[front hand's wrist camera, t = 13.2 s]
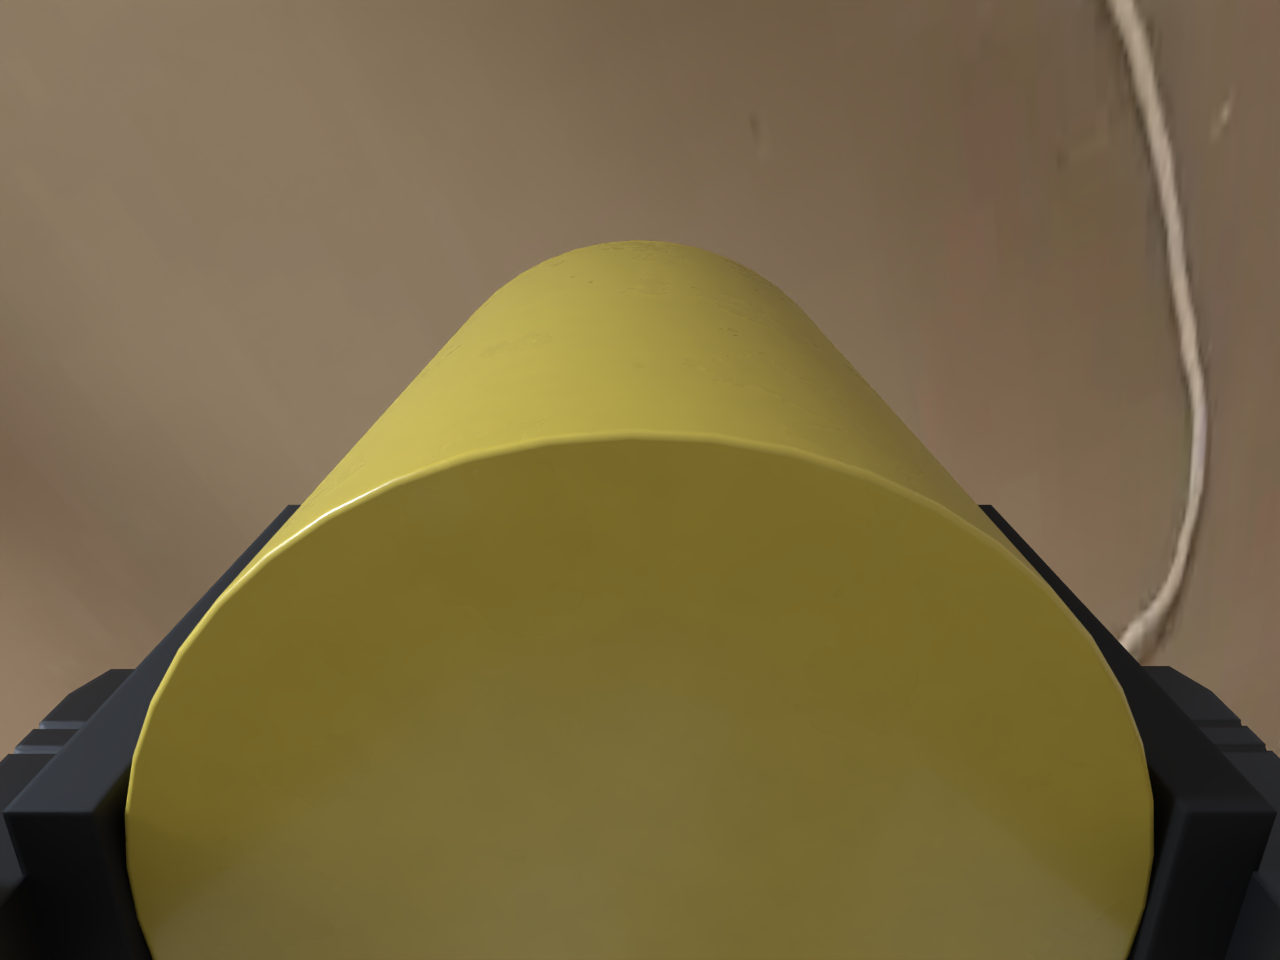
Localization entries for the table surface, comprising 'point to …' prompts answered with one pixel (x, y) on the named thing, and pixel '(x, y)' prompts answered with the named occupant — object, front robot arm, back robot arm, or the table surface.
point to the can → (639, 672)
